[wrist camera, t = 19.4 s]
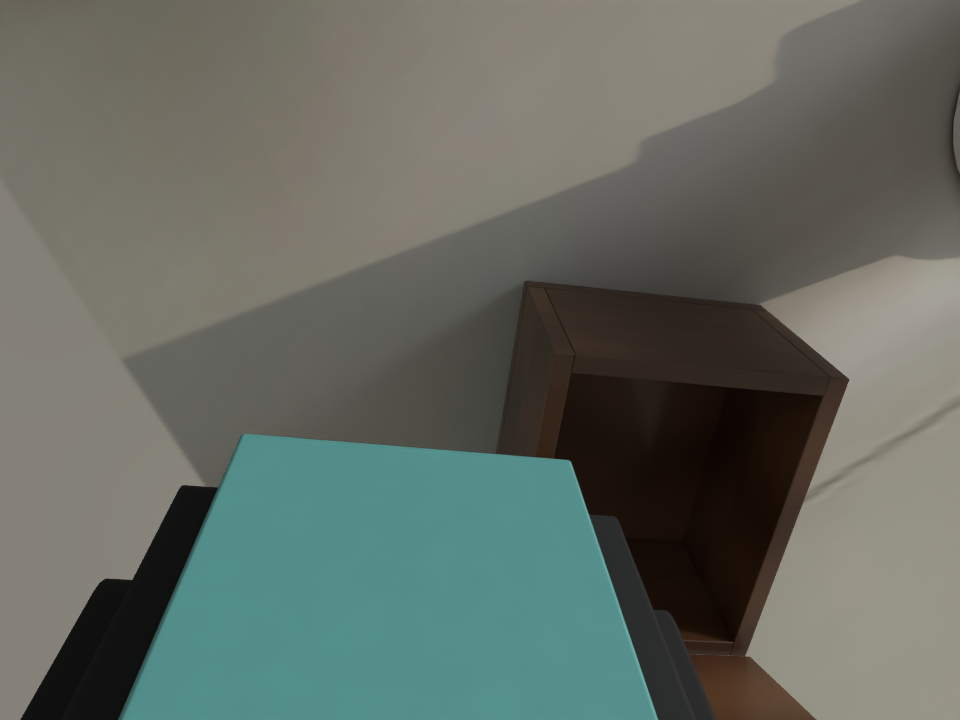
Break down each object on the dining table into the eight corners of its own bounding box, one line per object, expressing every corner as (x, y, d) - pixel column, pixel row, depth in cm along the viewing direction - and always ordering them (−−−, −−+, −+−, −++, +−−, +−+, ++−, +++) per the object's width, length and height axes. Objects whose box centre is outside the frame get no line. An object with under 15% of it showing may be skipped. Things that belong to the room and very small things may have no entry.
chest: (524, 280, 38) (553, 351, 30) (761, 304, 39) (850, 379, 31) (482, 531, 44) (497, 646, 36) (687, 543, 46) (745, 656, 38)
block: (239, 678, 12) (140, 1036, 8) (240, 431, 10) (111, 727, 6) (520, 689, 12) (569, 1028, 8) (572, 458, 10) (670, 746, 6)
